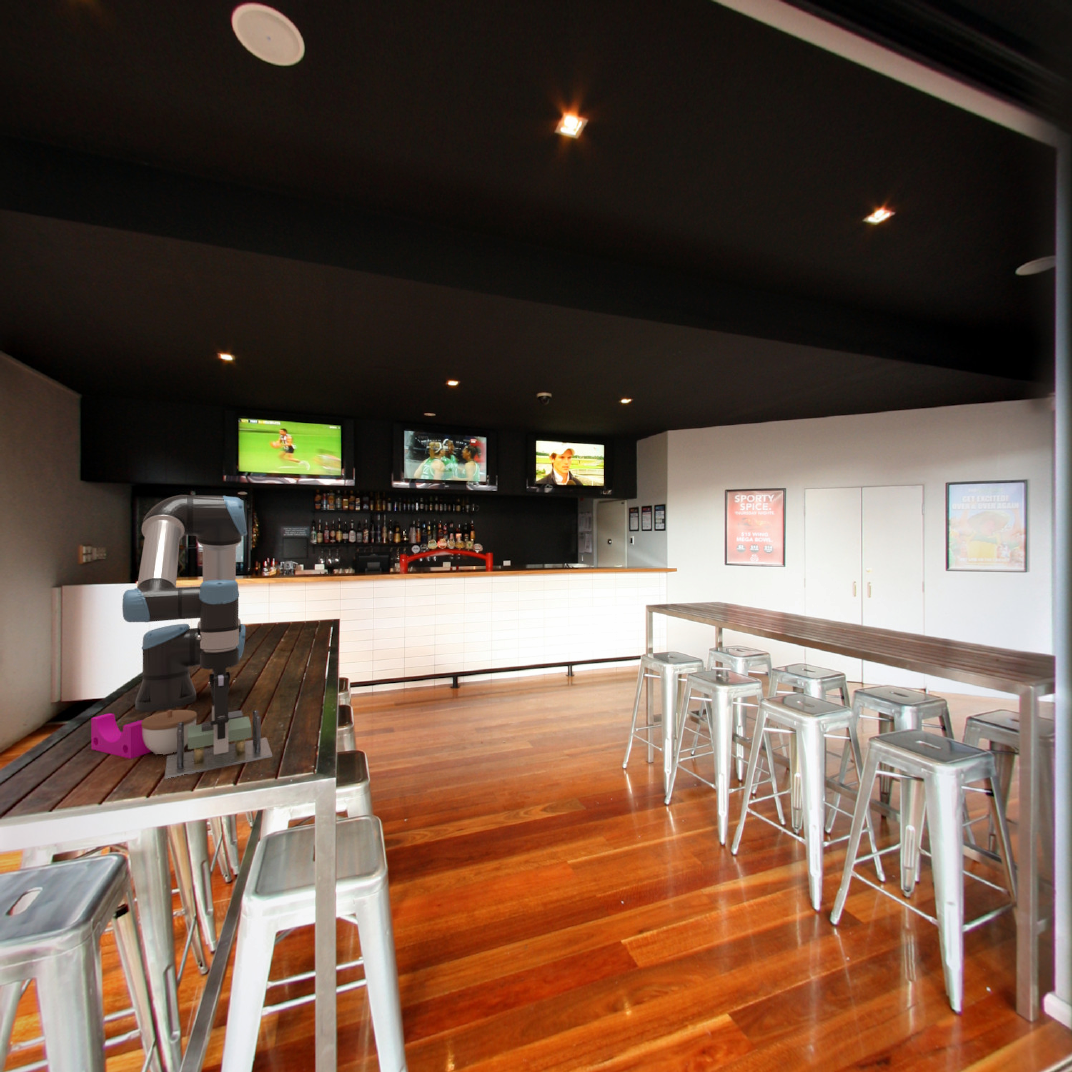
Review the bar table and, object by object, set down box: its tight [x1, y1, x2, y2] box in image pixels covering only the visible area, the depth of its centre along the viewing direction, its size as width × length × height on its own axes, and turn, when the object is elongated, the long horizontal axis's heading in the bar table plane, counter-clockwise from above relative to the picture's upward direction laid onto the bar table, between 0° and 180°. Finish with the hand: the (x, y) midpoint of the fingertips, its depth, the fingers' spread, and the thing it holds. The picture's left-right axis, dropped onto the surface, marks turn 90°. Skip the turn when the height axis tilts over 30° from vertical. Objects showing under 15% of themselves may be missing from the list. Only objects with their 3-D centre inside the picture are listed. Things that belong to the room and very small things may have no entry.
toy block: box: [90, 713, 152, 760], centre depth 125 cm, size 15×6×8 cm, turn 67°
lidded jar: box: [142, 709, 198, 755], centre depth 124 cm, size 11×11×9 cm
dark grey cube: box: [228, 710, 244, 720], centre depth 134 cm, size 5×5×5 cm
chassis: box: [164, 709, 273, 780], centre depth 119 cm, size 12×20×9 cm, turn 123°
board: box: [187, 716, 253, 750], centre depth 119 cm, size 8×12×4 cm, turn 123°
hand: (219, 742), depth 119 cm, fingers open, 13 cm apart
